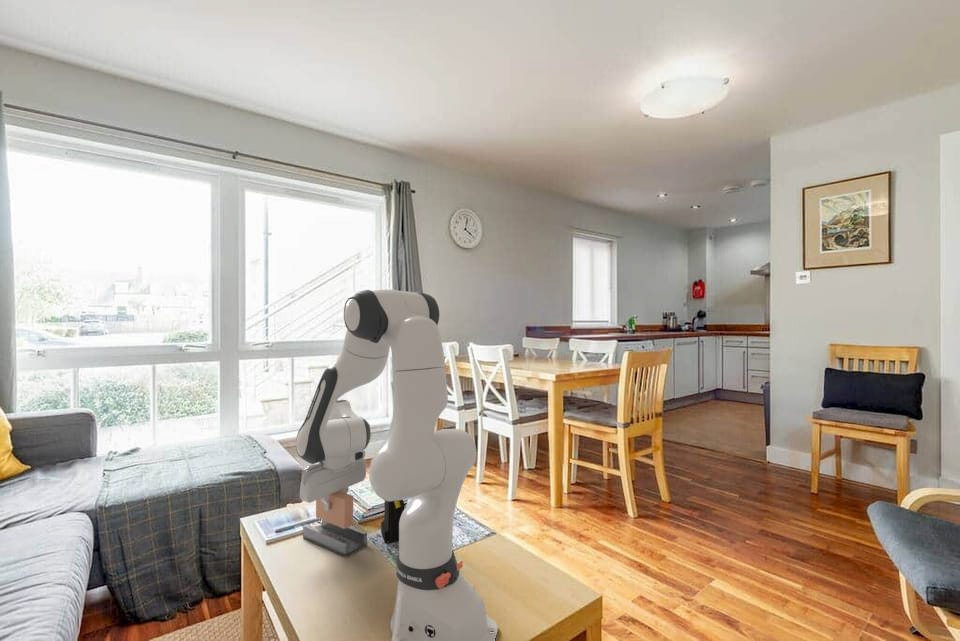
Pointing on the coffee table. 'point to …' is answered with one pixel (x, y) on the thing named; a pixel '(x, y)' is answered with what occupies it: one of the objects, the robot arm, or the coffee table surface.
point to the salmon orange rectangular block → (337, 510)
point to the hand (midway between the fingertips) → (334, 506)
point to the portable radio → (391, 520)
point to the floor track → (336, 537)
